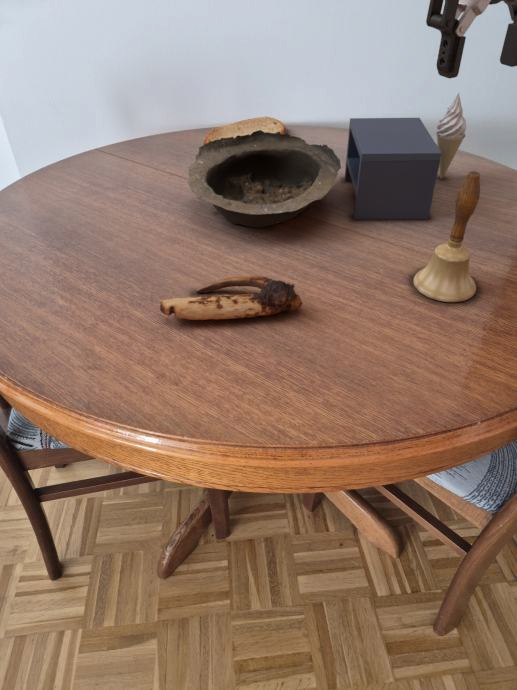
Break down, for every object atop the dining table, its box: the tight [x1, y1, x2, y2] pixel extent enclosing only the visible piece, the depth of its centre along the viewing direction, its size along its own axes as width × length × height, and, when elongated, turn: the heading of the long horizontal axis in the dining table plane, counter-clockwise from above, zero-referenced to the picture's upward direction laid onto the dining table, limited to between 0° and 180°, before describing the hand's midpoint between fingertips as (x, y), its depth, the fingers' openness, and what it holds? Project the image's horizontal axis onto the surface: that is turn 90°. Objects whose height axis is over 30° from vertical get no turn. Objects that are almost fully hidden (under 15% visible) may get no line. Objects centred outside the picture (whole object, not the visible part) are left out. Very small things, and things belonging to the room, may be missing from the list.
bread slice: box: [202, 116, 287, 146], centre depth 115 cm, size 18×18×4 cm
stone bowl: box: [187, 130, 342, 228], centre depth 90 cm, size 25×25×9 cm
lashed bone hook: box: [159, 275, 303, 321], centre depth 70 cm, size 9×5×18 cm
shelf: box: [344, 117, 442, 221], centre depth 92 cm, size 12×16×11 cm
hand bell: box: [412, 170, 481, 303], centre depth 69 cm, size 8×8×16 cm
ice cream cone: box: [435, 92, 467, 179], centre depth 96 cm, size 5×5×15 cm
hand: (479, 70), depth 56 cm, fingers open, 8 cm apart
